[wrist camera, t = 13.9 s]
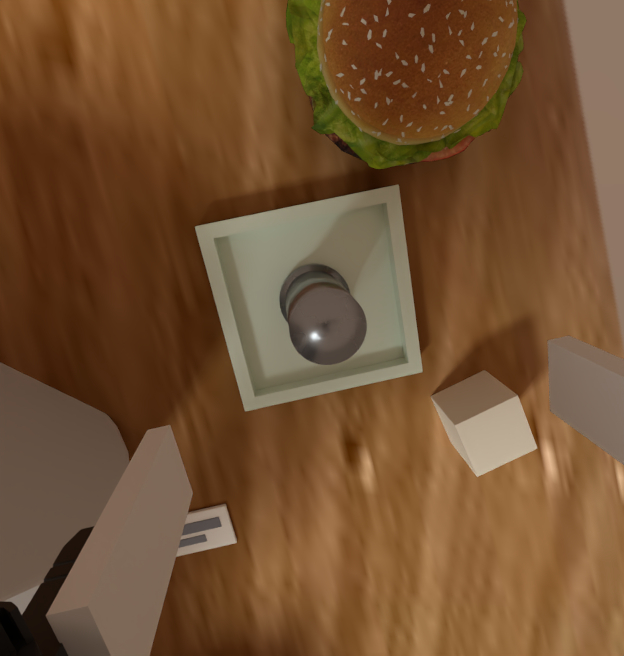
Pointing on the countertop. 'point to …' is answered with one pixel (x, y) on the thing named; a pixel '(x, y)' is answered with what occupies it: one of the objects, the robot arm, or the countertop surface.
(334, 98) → the food
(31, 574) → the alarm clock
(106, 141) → the countertop surface
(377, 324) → the tray
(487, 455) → the cream block
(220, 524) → the label tile
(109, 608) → the robot arm
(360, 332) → the metal door knob
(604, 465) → the countertop surface
